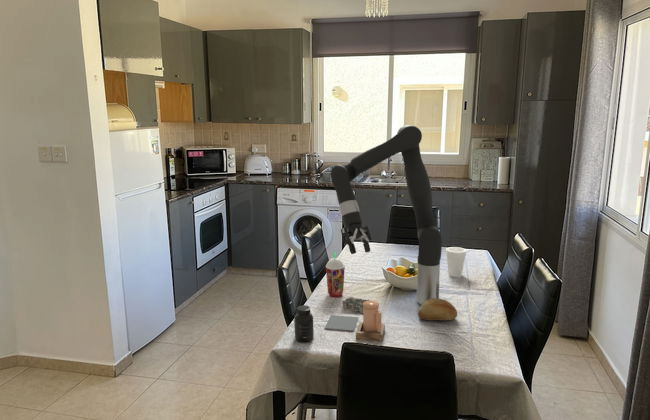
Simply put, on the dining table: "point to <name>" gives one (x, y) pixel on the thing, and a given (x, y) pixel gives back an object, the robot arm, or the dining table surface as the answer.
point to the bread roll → (437, 310)
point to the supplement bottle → (303, 324)
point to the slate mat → (341, 323)
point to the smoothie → (335, 277)
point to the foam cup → (455, 261)
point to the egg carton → (353, 304)
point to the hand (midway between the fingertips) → (361, 252)
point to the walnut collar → (370, 333)
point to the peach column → (371, 317)
